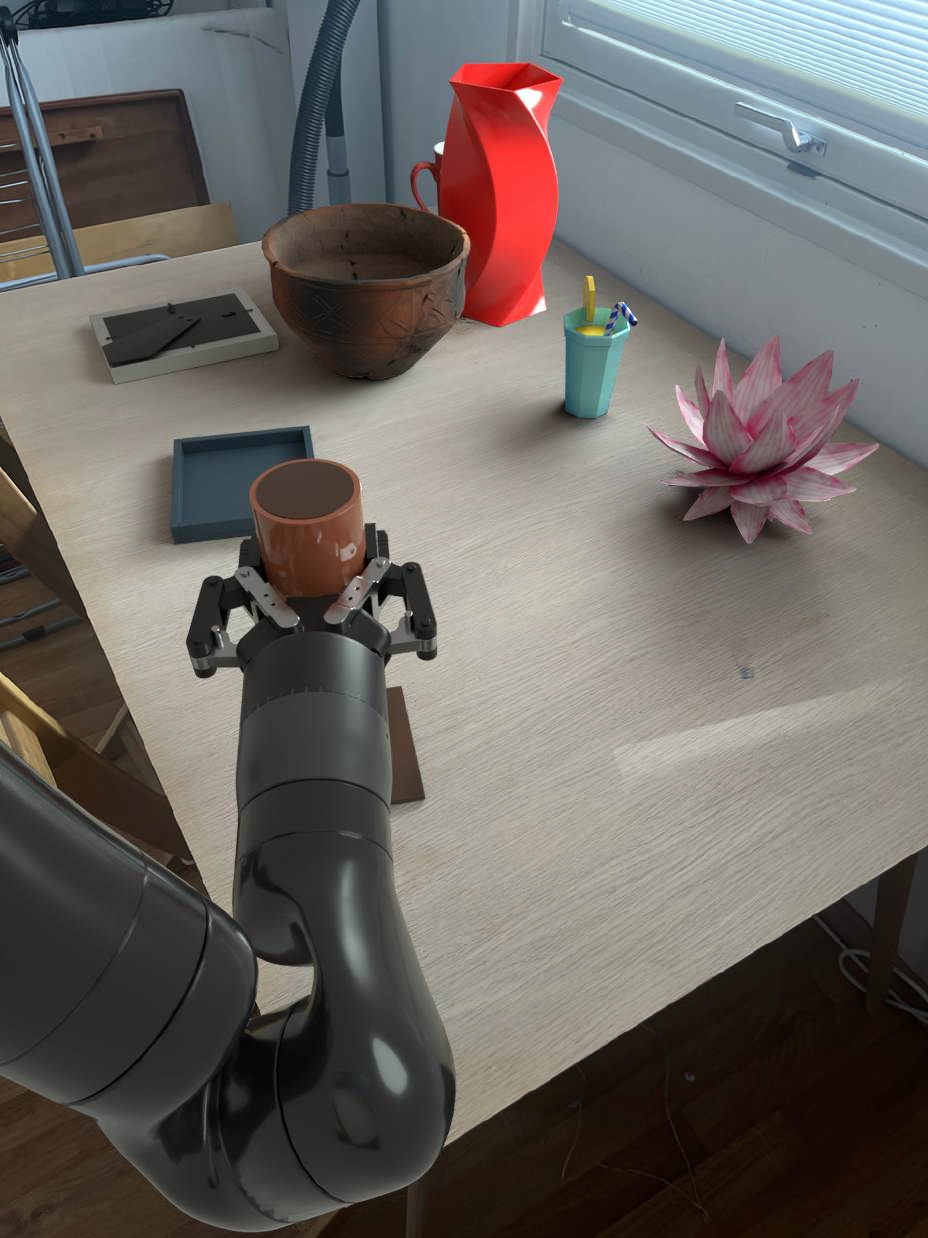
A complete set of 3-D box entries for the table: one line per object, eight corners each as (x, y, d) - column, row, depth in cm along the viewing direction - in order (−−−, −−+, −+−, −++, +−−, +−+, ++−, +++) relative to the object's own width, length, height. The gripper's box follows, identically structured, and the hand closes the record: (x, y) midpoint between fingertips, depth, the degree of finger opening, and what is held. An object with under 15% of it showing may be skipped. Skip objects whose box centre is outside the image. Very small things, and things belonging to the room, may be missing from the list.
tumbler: (260, 655, 59) (225, 496, 50) (323, 602, 63) (301, 445, 54) (333, 696, 56) (310, 537, 47) (394, 638, 60) (383, 480, 51)
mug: (484, 227, 144) (486, 136, 134) (496, 249, 137) (499, 155, 128) (408, 232, 142) (405, 140, 133) (416, 254, 136) (413, 160, 126)
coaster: (275, 825, 63) (274, 822, 63) (267, 709, 71) (266, 706, 71) (425, 799, 65) (425, 796, 65) (402, 688, 73) (401, 685, 72)
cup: (647, 435, 100) (669, 308, 89) (585, 447, 98) (601, 320, 88) (593, 376, 109) (608, 256, 99) (535, 387, 107) (545, 265, 97)
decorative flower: (776, 431, 101) (814, 304, 90) (891, 545, 86) (953, 411, 76) (604, 460, 96) (623, 330, 86) (695, 586, 82) (731, 449, 71)
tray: (174, 544, 85) (169, 527, 84) (177, 455, 96) (173, 438, 95) (324, 526, 88) (322, 509, 86) (311, 441, 99) (309, 424, 97)
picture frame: (114, 384, 107) (279, 349, 114) (108, 363, 105) (276, 328, 112) (92, 329, 117) (245, 300, 124) (86, 309, 115) (241, 280, 122)
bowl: (509, 346, 115) (515, 228, 104) (388, 429, 100) (381, 301, 90) (364, 296, 125) (356, 183, 114) (236, 364, 111) (213, 243, 100)
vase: (555, 322, 120) (576, 89, 100) (452, 332, 117) (452, 95, 98) (524, 276, 130) (537, 57, 111) (429, 285, 128) (425, 62, 108)
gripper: (457, 683, 42) (426, 481, 54) (150, 709, 41) (187, 496, 53) (457, 776, 47) (429, 573, 59) (184, 802, 46) (211, 589, 58)
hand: (315, 537), depth 56 cm, fingers closed on tumbler, 6 cm apart
